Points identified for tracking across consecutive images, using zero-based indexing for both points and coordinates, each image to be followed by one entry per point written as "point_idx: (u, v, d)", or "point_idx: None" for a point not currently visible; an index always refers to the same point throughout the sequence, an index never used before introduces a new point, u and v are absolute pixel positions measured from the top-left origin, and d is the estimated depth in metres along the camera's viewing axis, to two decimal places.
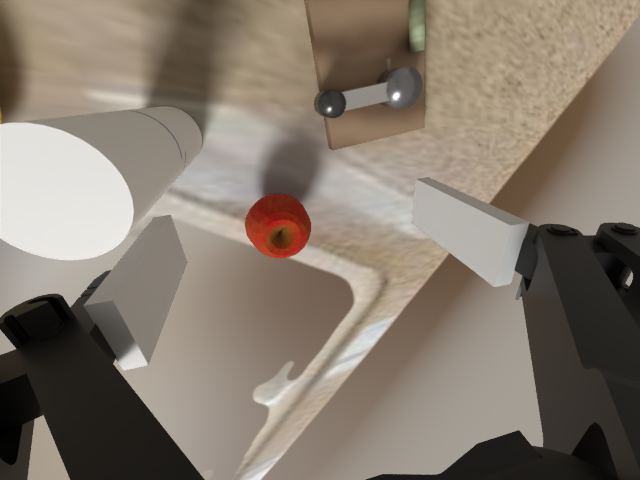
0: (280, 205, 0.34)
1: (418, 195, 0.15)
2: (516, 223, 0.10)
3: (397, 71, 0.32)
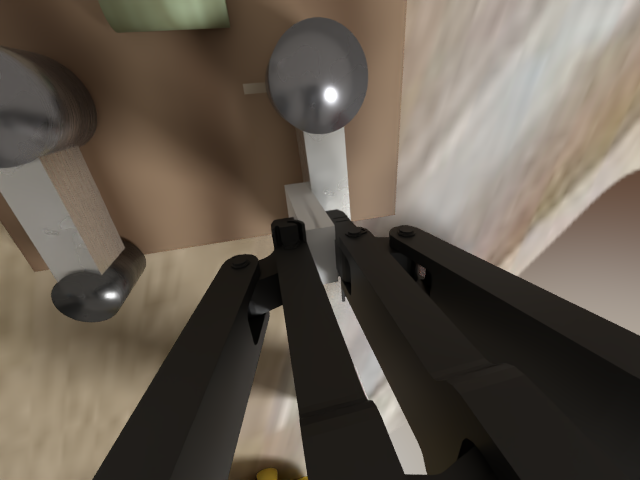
0: None
1: None
2: (323, 226, 0.11)
3: (281, 109, 0.12)
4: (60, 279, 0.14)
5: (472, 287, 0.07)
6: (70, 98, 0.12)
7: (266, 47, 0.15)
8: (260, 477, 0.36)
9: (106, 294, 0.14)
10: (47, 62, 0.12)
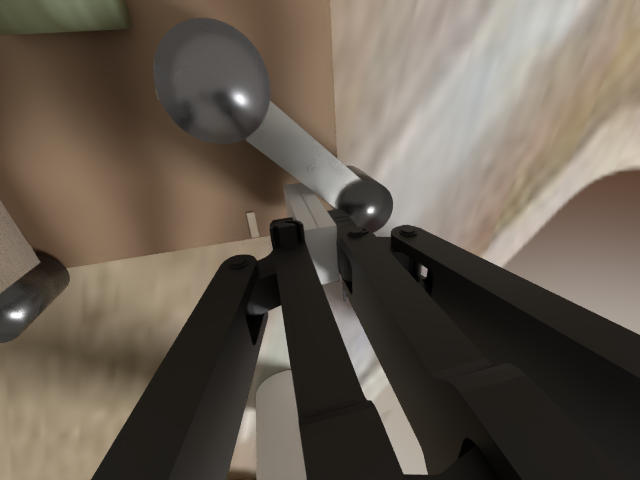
0: None
1: None
2: (324, 226, 0.11)
3: (211, 140, 0.12)
4: None
5: (473, 286, 0.08)
6: None
7: None
8: None
9: (5, 314, 0.14)
10: None
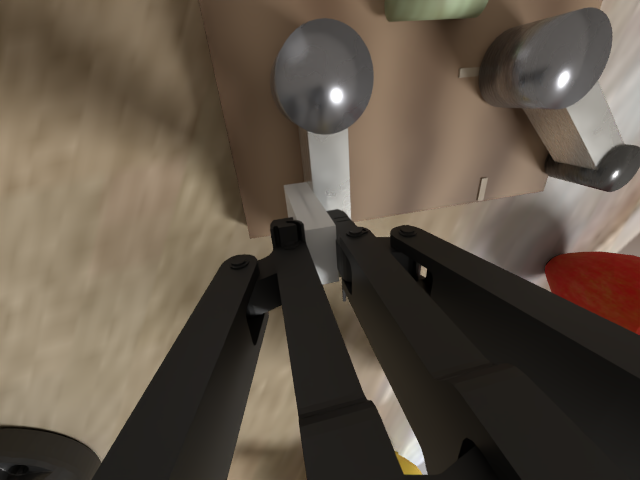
0: (620, 318, 0.22)
1: None
2: (324, 226, 0.11)
3: (550, 105, 0.15)
4: None
5: (472, 287, 0.08)
6: None
7: (486, 36, 0.17)
8: None
9: None
10: None
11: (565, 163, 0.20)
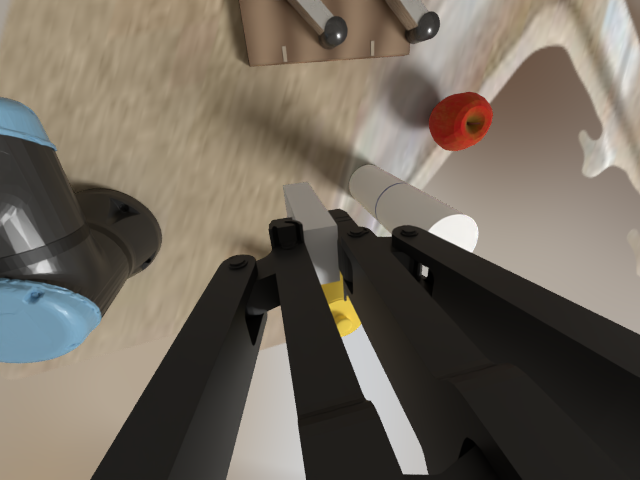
0: (448, 119, 0.42)
1: None
2: (325, 226, 0.11)
3: None
4: (324, 28, 0.35)
5: (473, 287, 0.08)
6: None
7: None
8: None
9: (340, 23, 0.35)
10: None
11: (410, 29, 0.39)
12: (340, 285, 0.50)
